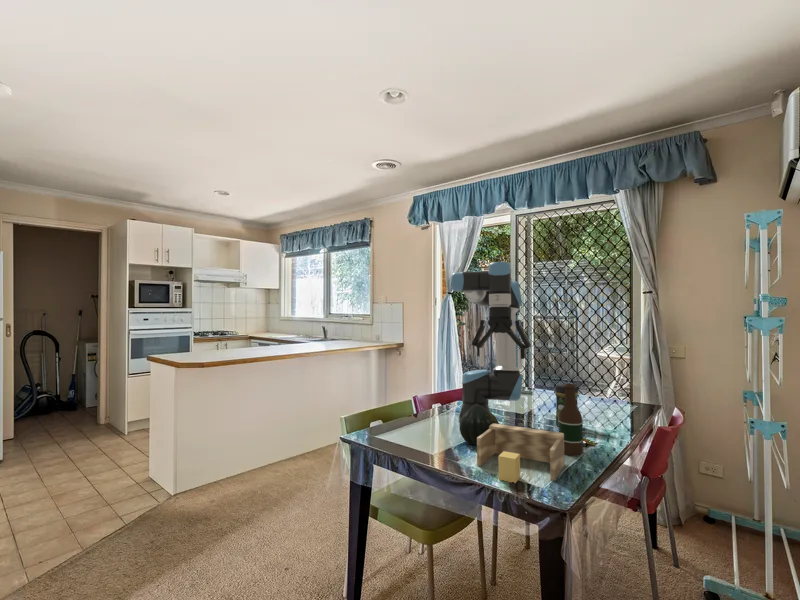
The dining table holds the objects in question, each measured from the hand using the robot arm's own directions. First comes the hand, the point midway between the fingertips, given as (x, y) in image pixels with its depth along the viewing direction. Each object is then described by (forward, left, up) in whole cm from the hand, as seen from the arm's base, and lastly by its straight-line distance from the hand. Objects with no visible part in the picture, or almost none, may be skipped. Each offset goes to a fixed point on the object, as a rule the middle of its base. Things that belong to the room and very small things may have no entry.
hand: (500, 367), depth 144 cm
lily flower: (+22, +30, -31) cm, 48 cm away
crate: (+8, -5, -31) cm, 32 cm away
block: (+8, -18, -31) cm, 36 cm away
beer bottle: (+20, +16, -31) cm, 40 cm away
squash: (-12, +10, -31) cm, 35 cm away
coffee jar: (+13, +51, -31) cm, 61 cm away
